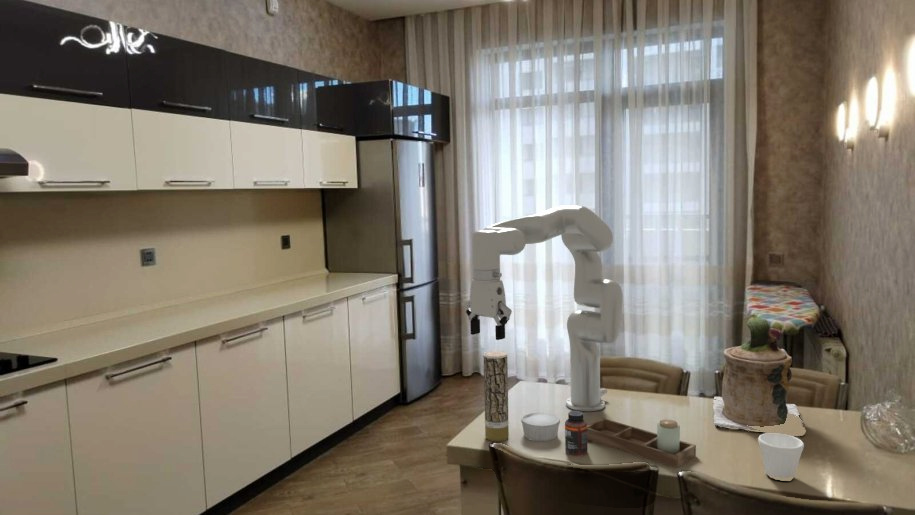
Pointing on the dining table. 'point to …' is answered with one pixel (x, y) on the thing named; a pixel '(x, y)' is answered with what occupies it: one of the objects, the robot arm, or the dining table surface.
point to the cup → (780, 454)
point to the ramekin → (540, 426)
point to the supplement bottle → (576, 434)
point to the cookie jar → (755, 381)
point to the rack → (637, 442)
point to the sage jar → (668, 436)
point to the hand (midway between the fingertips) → (487, 336)
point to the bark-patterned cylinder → (496, 395)
